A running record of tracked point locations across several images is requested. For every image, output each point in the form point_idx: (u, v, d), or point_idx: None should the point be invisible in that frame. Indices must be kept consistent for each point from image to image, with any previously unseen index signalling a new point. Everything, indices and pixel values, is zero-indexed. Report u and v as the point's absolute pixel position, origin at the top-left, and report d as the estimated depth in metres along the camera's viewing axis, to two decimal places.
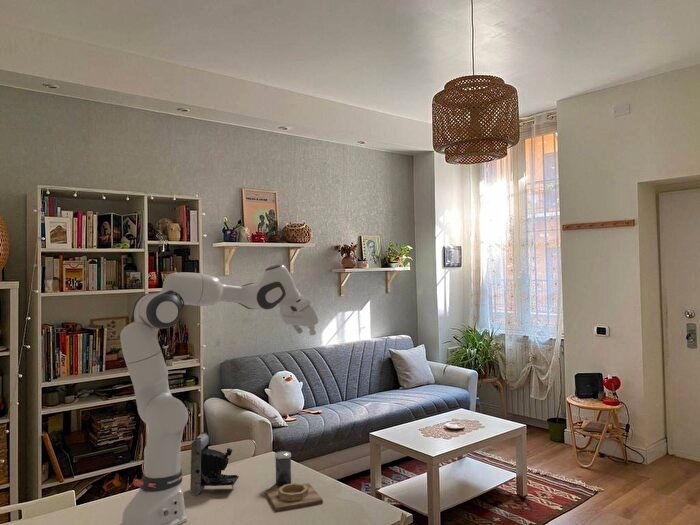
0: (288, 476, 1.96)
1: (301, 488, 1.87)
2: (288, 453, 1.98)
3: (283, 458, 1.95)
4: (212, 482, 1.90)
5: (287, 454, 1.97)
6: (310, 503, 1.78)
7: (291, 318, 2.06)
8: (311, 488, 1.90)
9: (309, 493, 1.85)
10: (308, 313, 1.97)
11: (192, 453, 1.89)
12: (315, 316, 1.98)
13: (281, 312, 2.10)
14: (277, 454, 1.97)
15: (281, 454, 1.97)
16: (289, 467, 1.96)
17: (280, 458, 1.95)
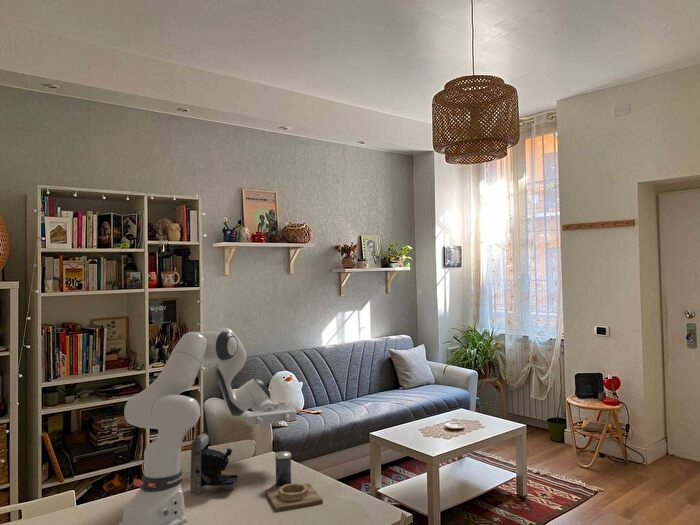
0: (288, 476, 1.96)
1: (301, 488, 1.87)
2: (288, 453, 1.98)
3: (283, 458, 1.95)
4: (212, 482, 1.90)
5: (287, 454, 1.97)
6: (310, 503, 1.78)
7: (265, 412, 2.16)
8: (311, 488, 1.90)
9: (309, 493, 1.85)
10: None
11: (192, 453, 1.89)
12: None
13: (250, 412, 2.16)
14: (277, 454, 1.97)
15: (281, 454, 1.97)
16: (289, 467, 1.96)
17: (280, 458, 1.95)
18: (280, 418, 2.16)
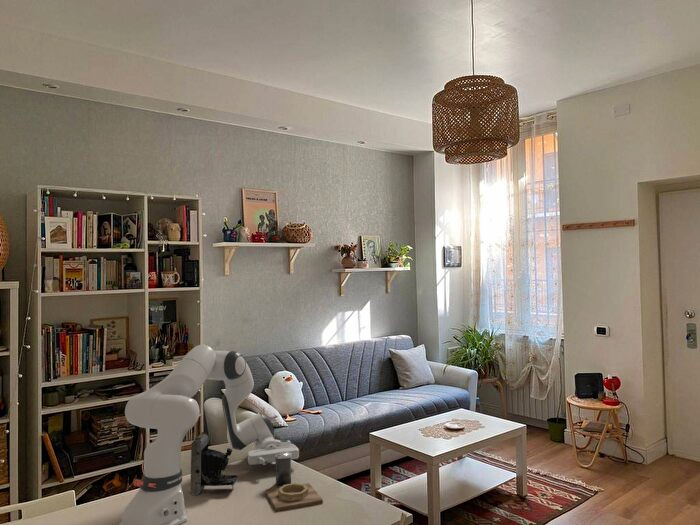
0: (288, 476, 1.96)
1: (301, 488, 1.87)
2: (288, 453, 1.98)
3: (283, 458, 1.95)
4: (212, 482, 1.90)
5: (287, 454, 1.97)
6: (310, 503, 1.78)
7: (267, 451, 2.12)
8: (311, 488, 1.90)
9: (309, 493, 1.85)
10: None
11: (192, 453, 1.89)
12: None
13: (251, 451, 2.12)
14: (277, 454, 1.97)
15: (281, 454, 1.97)
16: (289, 467, 1.96)
17: (280, 458, 1.95)
18: None
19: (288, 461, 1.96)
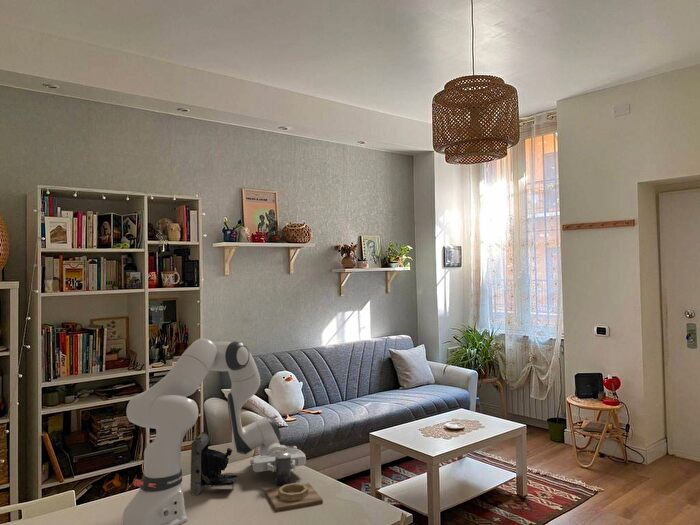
0: (288, 476, 1.96)
1: (301, 488, 1.87)
2: (288, 453, 1.98)
3: (283, 458, 1.95)
4: (212, 482, 1.90)
5: (287, 454, 1.97)
6: (310, 503, 1.78)
7: (273, 457, 2.04)
8: (311, 488, 1.90)
9: (309, 493, 1.85)
10: None
11: (192, 453, 1.89)
12: None
13: (256, 457, 2.04)
14: (277, 454, 1.97)
15: (281, 454, 1.97)
16: (289, 467, 1.96)
17: (280, 458, 1.95)
18: None
19: (288, 461, 1.96)
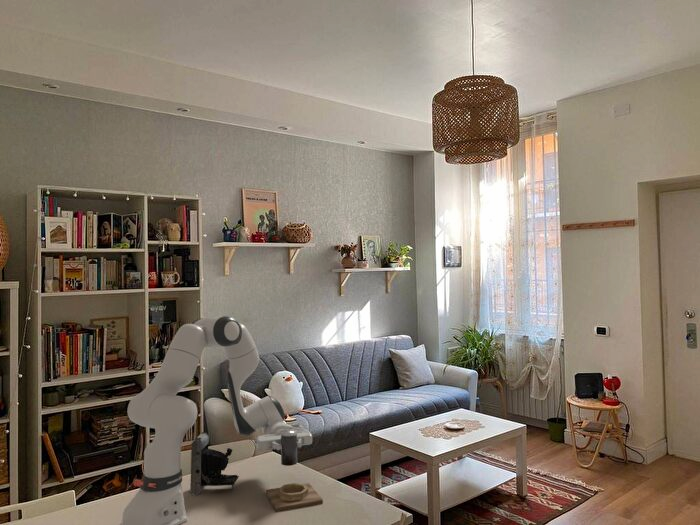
0: (294, 455, 1.87)
1: (301, 488, 1.87)
2: (294, 431, 1.90)
3: (289, 435, 1.86)
4: (212, 482, 1.90)
5: (293, 432, 1.88)
6: (310, 503, 1.78)
7: (278, 436, 1.95)
8: (311, 488, 1.90)
9: (309, 493, 1.85)
10: None
11: (192, 453, 1.89)
12: None
13: (261, 436, 1.95)
14: (282, 432, 1.89)
15: (287, 432, 1.88)
16: (295, 445, 1.88)
17: (286, 435, 1.86)
18: None
19: (294, 439, 1.87)
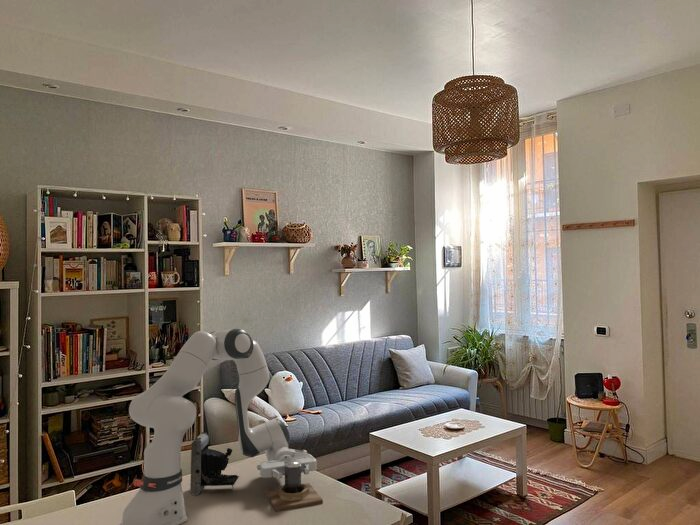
0: (298, 486, 1.83)
1: (301, 488, 1.87)
2: (298, 462, 1.85)
3: (293, 467, 1.82)
4: (212, 482, 1.90)
5: (297, 463, 1.84)
6: (310, 503, 1.78)
7: (282, 462, 1.91)
8: (311, 488, 1.90)
9: (309, 493, 1.85)
10: None
11: (192, 453, 1.89)
12: None
13: (264, 462, 1.91)
14: (286, 463, 1.84)
15: (291, 463, 1.84)
16: (299, 477, 1.83)
17: (290, 467, 1.82)
18: None
19: (298, 470, 1.83)
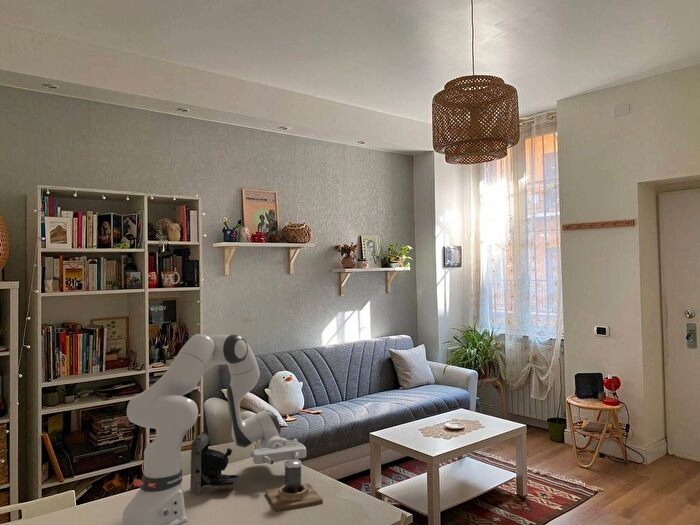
0: (298, 486, 1.83)
1: (301, 488, 1.87)
2: (298, 462, 1.85)
3: (293, 467, 1.82)
4: (212, 482, 1.90)
5: (297, 463, 1.84)
6: (310, 503, 1.78)
7: (273, 449, 2.03)
8: (311, 488, 1.90)
9: (309, 493, 1.85)
10: None
11: (192, 453, 1.89)
12: None
13: (256, 449, 2.03)
14: (287, 463, 1.84)
15: (291, 463, 1.84)
16: (299, 477, 1.83)
17: (290, 467, 1.82)
18: (289, 456, 2.02)
19: (299, 470, 1.83)
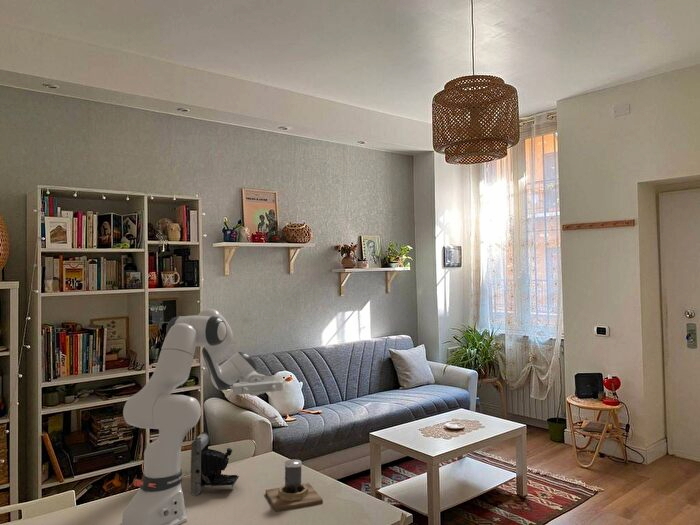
0: (299, 486, 1.83)
1: (301, 488, 1.87)
2: (299, 461, 1.85)
3: (294, 467, 1.82)
4: (212, 482, 1.90)
5: (298, 462, 1.84)
6: (310, 503, 1.78)
7: (252, 383, 2.17)
8: (311, 488, 1.90)
9: (309, 493, 1.85)
10: None
11: (192, 453, 1.89)
12: None
13: (236, 383, 2.17)
14: (287, 462, 1.84)
15: (291, 463, 1.84)
16: (300, 476, 1.83)
17: (291, 467, 1.82)
18: (266, 389, 2.16)
19: (299, 470, 1.83)
